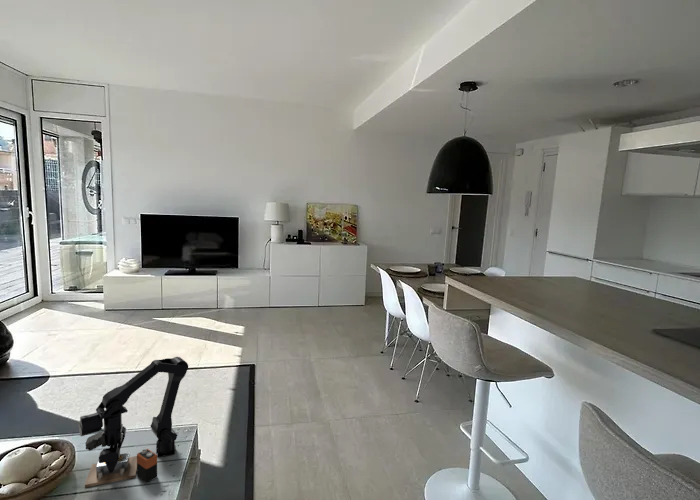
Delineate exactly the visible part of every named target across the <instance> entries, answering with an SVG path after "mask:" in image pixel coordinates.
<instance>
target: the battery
mask: <svg viewBox="0 0 700 500" xmlns="http://www.w3.org/2000/svg"><path fill="white" fill-rule="evenodd" d="M136 456H137V471H136V476H137V477H138V478H139V479H141V480H142V481H143V482H144V483H146V484H147V483H149V482H151V481H152V480H155V479H156V478H158V457H157V453H156V452H155V453H154V452H153V451H152V450H150V449H149V448H145V449H142V450H141V451H140V452H138V453H137V454H136Z"/></svg>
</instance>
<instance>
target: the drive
mask: <svg viewBox="0 0 700 500" xmlns="http://www.w3.org/2000/svg"><path fill="white" fill-rule="evenodd" d="M129 457H130V452H126V453H120V457H119V459H118V461H117V464H116V466H115V468H114V471H113V472H111V473H109V470H108V468H107V465H106V463H99V460H98V462H97V463H98V464H97V466H96V477H98V473H99V472H102V476H105V475H110V474H115V473H120V469H121V468H124V472H125V471H128V467H129Z"/></svg>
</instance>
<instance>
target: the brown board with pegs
mask: <svg viewBox="0 0 700 500" xmlns="http://www.w3.org/2000/svg"><path fill="white" fill-rule="evenodd" d="M97 464H98V462H96V463H92V464H91V466H90V469H89V472H88V474H87V477H86V480H85V483H84V488H88V487H94V486H98V485H104V484H109V483H110V484H111V483H114V482H115V483H116V482H118V481H119V482H120V481H125V480H130V479H133V478H134V479H135V478H136V476H137V455H135V456H129V467H128V471H125V472H124V468H121V469H120V473H115V474H110V475H105V476H102V472H99V473H98V477H96V466H97Z"/></svg>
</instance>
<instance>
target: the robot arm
mask: <svg viewBox="0 0 700 500" xmlns="http://www.w3.org/2000/svg"><path fill="white" fill-rule="evenodd" d="M188 369H189V364H188V362H187V361H185V360H184V359H183V358H182V357H181V356H174V357H173V358H171V357H170V358H169V357H167V358H162V359H154V360H152V361H151V362H150V363H149V364H148V365H147V366H146V367H144V368H143V369H142V370H140V371H139V372H138V373H136V375H134V376H133V377H132V378H130V379H129V380H128V381H126V382H125V383H124V384H122V385H120V386H116V387H114V388H113V389H110V390H109V391H107V392H106V393H105V394H104V395H103V396H102V398H101V399H102V400H101V402H100V404H99V405H98V406H97V407H96V409H95V411H96V412H94V413H90V414H86V415H81V416H80V417H79V422H78V431H79V436H80V437H85V436H88V435H91V434H92V435H91V436H89V437H87V438H86V441H85V443H84V444H85V450H88V451H89V452H90V451H93V450H95V449H97V448H99V447H100V446H101V448H103V449H102V450H101V451H100V453H99V455H98V461H99V463H106V465H107V468H108V470H109V473H111V472H113V471H114V468H115V466H116V464H117V461H118V459H119V457H120V454H121V447H122V445H123V443H124V441H125V439H126V438H125V437H126V433H127V428H126V426H123V425H124V424H123V423H122V419H123V417H122V416H123V415H122V414H126V413H128V411H129V410H128V409H127V408H126V406H124V405H125V404H126V403H127V402H128V400H129V399H130V397H131V396H132V395H133V393H135V392H136V391H137V390H139V389H140V388H141V387H143V385H145V384H146V383H147V382H149V381H150V380H151V379H152V378H154V377H155V376H156V375H157V374H158V373H159V374H160V373H166V374H167V375H168V381H167V384H166V387H165V391H164V394H163V395H164V396H163V399H162V402H161V407H160V411H159V413H158V414H157V416H153V417H152V419H151V420H152V421H151V424H150V425H149V426H150V428H151V432H152V433H153V434H154V435H155V437H156V438H157V440H156V444H155V445H156V448H155V454H156V455H157V458H162V457H168V456H172V455H175V454H176V443H175V442H176V440H177V438H178V434H177V433H176V432H175V430H174V429H173V421H172V415H173V412H174V411H173V410H174V407H175V403H176V399H177V395H178V391H179V388H180V384H181V382H182V380H183V379H184V377H185V376H186V374H187V372H188ZM102 428H103V431H101V430H102ZM96 432H97V433H96ZM94 433H95V434H94ZM106 446H107V447H108V448H105V447H106Z"/></svg>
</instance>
